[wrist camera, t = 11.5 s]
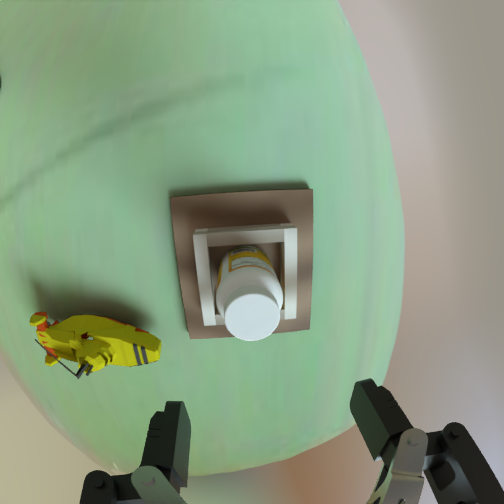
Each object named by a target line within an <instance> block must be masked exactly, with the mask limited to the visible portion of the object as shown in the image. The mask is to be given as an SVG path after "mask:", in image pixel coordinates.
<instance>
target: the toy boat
mask: <svg viewBox="0 0 504 504" xmlns="http://www.w3.org/2000/svg"><path fill="white" fill-rule="evenodd" d="M47 318H48V316H47V313H46V312H37V313H35V314H34V315H32V316H31V318H30V325H32V326H37V330H36V333H37V336H38V339H39V341H40V343H39V342H38V341H37V340H36V339H35V341H36V342H37V343H38V344H39V345H40V346H42V345H44V347H43V346H42V347H43V348H44V349H45V350H46V352H47V355H46V357H45V363H46V365H48V366H52V365H54V364H56V363H58V362H59V363H60V364H62V365H63V366H64V367H65V368H66V369H67V370H69V371H70V372H71V373H72V374H74V375H75V376H76V377H77V378H78V379H79V377H80V376H81V375H82V373H83V372H84V373H86V376H88V375H89V374H90V373H92V372H94V371H98V370H100V369H102V368H103V367H105V366H106V364H107V365H108V364H112V365H121V366H128V367H131V366H136V365H138V366H139V365H142V364H148V363H151V362H155V361H158V359H160V352H161V340H159V339H158V338H157V337H155V336H154V335H152V334H150V333H149V332H147V331H144V330H142V329H139V328H137V327H135V326H132V325H130V324H128V323H126V324H125V323H122V322H120V321H117V320H114V319H112V318H108V317H102V316H96V315H77V316H72V317H70V318H68V319H66V320H64V321H62V322H60V323H59V321H55V322H54V323H53V324H52V325H51V324H50V323H49V322H47V320H46V319H47ZM91 335H92V336H91ZM88 337H93V340H89V339H87V338H88ZM61 358H64V359H67V360H70V361H74V362H78V363H79V365H78V367H79V370H78V372H77V374H75V373H73V372H72V371H71V370H70V369H69V368H67V367H66V366H65V365H64V364H63V363H61V362H60V361H59V360H60V359H61ZM81 361H82V362H81Z"/></svg>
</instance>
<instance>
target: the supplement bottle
mask: <svg viewBox="0 0 504 504" xmlns="http://www.w3.org/2000/svg"><path fill="white" fill-rule="evenodd" d="M216 304H217V308H218V311H219V313H220V314H221V316H222V317H223V318H224V322H225V325H226V327H227V329H228V331H229V332H230V333H231V334H232V335H234V336H235V337H237V338H239V339H242V340H247V341H255V340H260V339H263V338H265V337H267V336H269V335H270V334H271V333H272V332H273V331H274V330H275V329H276V328H277V326H278V324H279V320H280V310H281V308H282V304H283V292H282V288H281V286H280V283H279V281H278V279H277V276H276V274H275V272H274V269H273V267H272V265H271V262H270V260H269V258H268V257H267V256H266V254H265V253H264V252H263V251H261V250H260V249H258V248H255V247H252V246H239V247H236V248H233V249H232V250H230V251H229V252H228V253H226V254H225V256H224V257H223V258H222V260H221V263H220V266H219V272H218V283H217V291H216Z"/></svg>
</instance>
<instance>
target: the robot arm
mask: <svg viewBox="0 0 504 504" xmlns="http://www.w3.org/2000/svg"><path fill="white" fill-rule="evenodd" d="M0 87H1V80H0ZM350 410H351V413H352V415H353V417H354V419H355V421H356V423H357V426H358V428H359V430H360V432H361V434H362V436H363V438H364V440H365V442H366V445H367V447H368V449H369V451H370V453H371V455H372V457H373V459H374V461H377V460H380V459H382V460H383V462H384V463H383V465H382V468H381V471H380V473H379V476H378V479H377V482H376V484H375V487H374V489H373V492H372V494H371V496H370V498H369V499H368V501H367V503H366V504H418V502H419V499H420V496H421V492H422V488H423V484H424V477H422V476H421V474H422V470H423V471H424V474H425V475H426V478H427V480H428V482H429V484H430V487H431V489H432V491H433V493H434V495H435V498H436V500H437V502H438V504H504V491H503V489H502V487H501V485H500V484H499V482H498V480H497V478H496V477H495V475H494V473H493V471H492V470H491V468H490V466H489V464H488V463H487V461H486V459H485V458H484V456H483V455H482V453H481V451H480V450H479V448H478V447H477V445H476V444H475V442H474V440H473V439H472V437H471V436H470V434H469V433H468V431H467V430H466V428H465V427H464V426H463V425H462V424H460V423H457V422H452V423H449V424H447V425H446V426H445V428H444V429H443V430H442V431H437V432H430V433H425V432H424V431H423V430H420V429H417V428H414V427H413V426H412V425H411V424H410V422H409V420H408V419H407V417H406V415H405V414H404V412H403V411H402V409H401V408H400V406H398V403H397V402H396V400H394V397H393V396H392V394H391V393H390V391H389V390H387V389H386V388H384V387H383V386H379V387H377V385H376V384H375V382H374V381H373V380H372V379H371V378H370V379H366V380H362V381H358V382H356V383H355V386H354V390H353V393H352V397H351V400H350ZM190 437H191V424H190V419H189V416H188V413H187V410H186V407H185V404H184V402H183V401H167V402H166V405H165V410H164V412H161V411H157V412H156V413H155V414H154V416H153V417H152V418H151V420H150V424H149V430H148V433H147V437H146V442H145V447H144V452H143V456H142V461H141V464H140V466H139V468H137V469H136V470H135V471H134V472H132V473H130V474H125V475H115V476H110V475H109V474H108V473H106V472H104V471H100V470H95V471H92V472H90V473H89V474H88V475H87V476H86V477H85V480H84V484H83V489H82V494H81V499H80V504H187V503H186V502H185V501H184V500H183V498H182V497H181V496H180V495H179V494H180V487H187V479H188V463H189V450H190Z"/></svg>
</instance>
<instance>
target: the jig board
mask: <svg viewBox="0 0 504 504" xmlns="http://www.w3.org/2000/svg"><path fill="white" fill-rule="evenodd" d="M170 202H171V213H172V223H173V232H174V240H175V249H176V256H177V264H178V271H179V278H180V284H181V291H182V297H183V303H184V309H185V315H186V320H187V326H188V331H189V336H190V339H204V338H223V337H235V336H234V335H232V334H231V333H230V332H229V331H228V329H227V327H226V325H225V322H224V318H223V317H222V316H221V314H220V313H219V311H218V308H217V304H216V291H217V283H218V272H219V266H220V263H221V260H222V258H223V257H224V256H225V254H226V253H228V252H229V251H230V250H232V249H233V248H236V247H239V246H252V247H255V248H258V249H260V250H261V251H263V252H264V253H265V254H266V256H267V257H268V258H269V260H270V262H271V265H272V267H273V269H274V272H275V274H276V276H277V279H278V281H279V283H280V286H281V288H282V292H283V304H282V308H281V310H280V320H279V324H278V326H277V328H276V329H275V330H274V331H273V332H272V333H271V334H273V333H283V332H292V331H300V330H308V329H310V315H311V295H312V268H313V189H281V190H257V191H239V192H224V193H210V194H198V195H187V196H176V197H171V198H170Z"/></svg>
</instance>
